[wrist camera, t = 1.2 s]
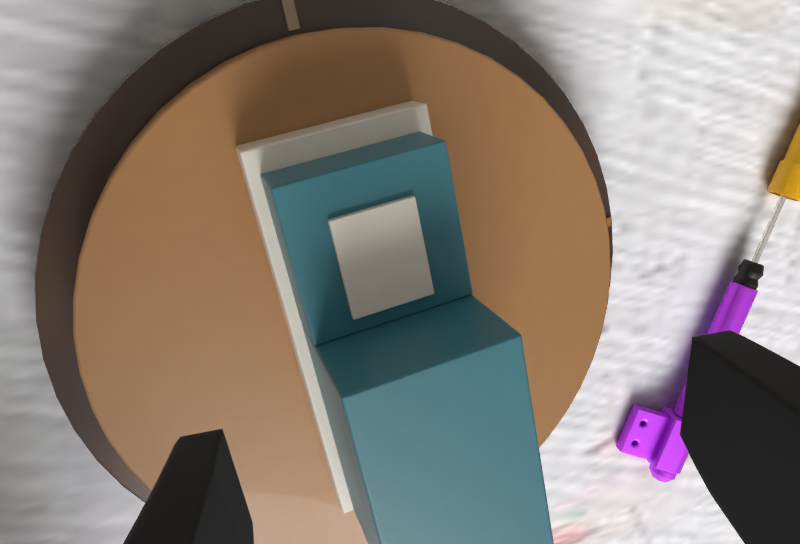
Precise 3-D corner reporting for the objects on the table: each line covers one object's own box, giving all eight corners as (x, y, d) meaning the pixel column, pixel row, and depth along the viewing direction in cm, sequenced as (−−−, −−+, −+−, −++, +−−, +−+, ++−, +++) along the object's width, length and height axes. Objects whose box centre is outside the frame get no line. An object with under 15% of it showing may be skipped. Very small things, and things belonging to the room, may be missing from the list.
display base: (609, 420, 27) (635, 442, 26) (158, 597, 23) (159, 634, 22) (556, -65, 21) (586, -72, 20) (-69, 68, 17) (-89, 71, 16)
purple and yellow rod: (665, 474, 29) (839, 81, 26) (679, 489, 27) (862, 80, 25) (605, 457, 28) (774, 55, 25) (616, 472, 27) (795, 53, 24)
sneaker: (610, 429, 25) (747, 547, 19) (181, 599, 22) (192, 802, 16) (560, -26, 20) (731, -53, 14) (-23, 106, 16) (-120, 144, 10)
